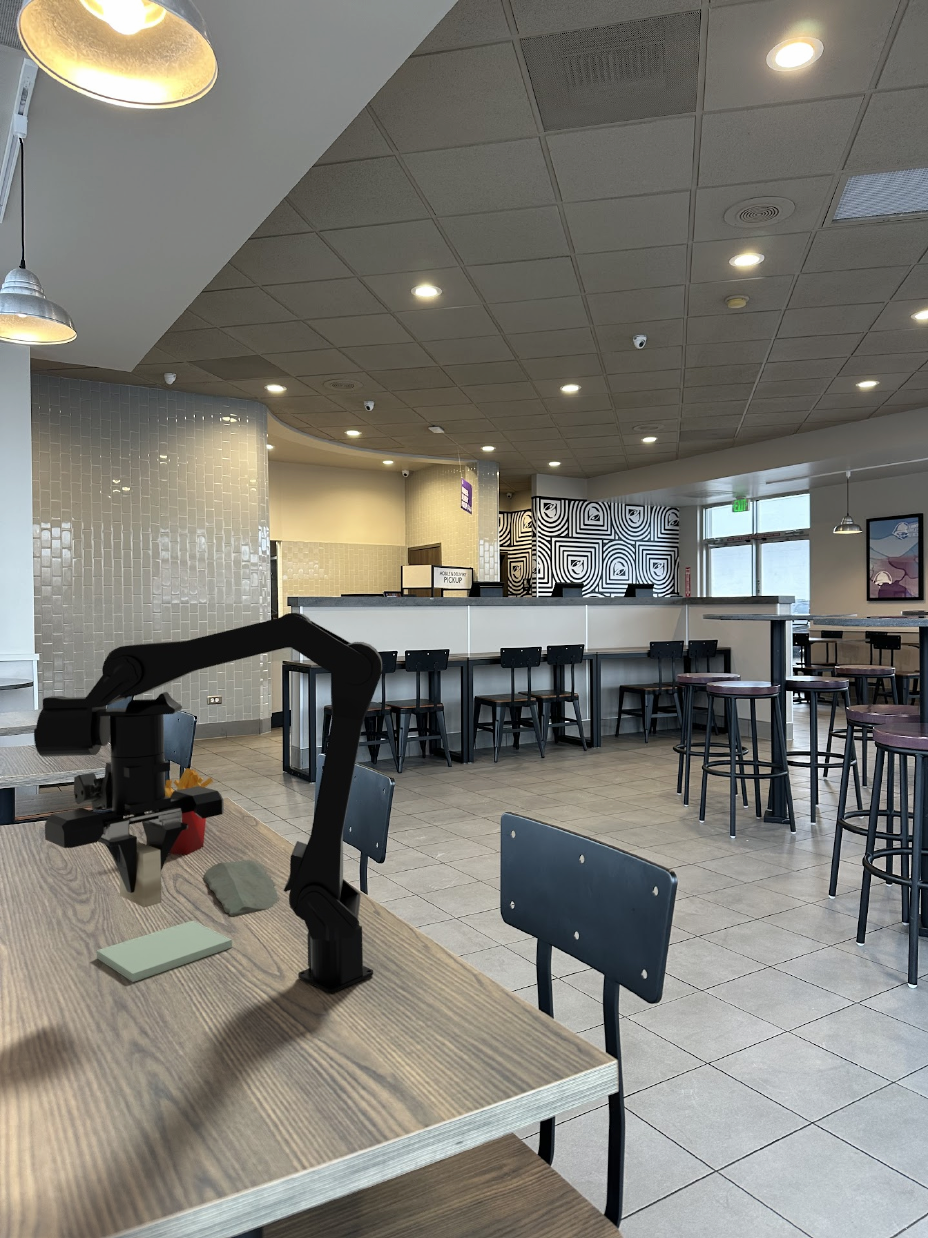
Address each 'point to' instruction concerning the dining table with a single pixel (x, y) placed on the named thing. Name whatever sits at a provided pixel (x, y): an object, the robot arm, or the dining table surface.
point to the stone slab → (242, 887)
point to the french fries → (189, 815)
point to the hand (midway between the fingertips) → (140, 889)
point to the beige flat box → (145, 877)
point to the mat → (163, 950)
